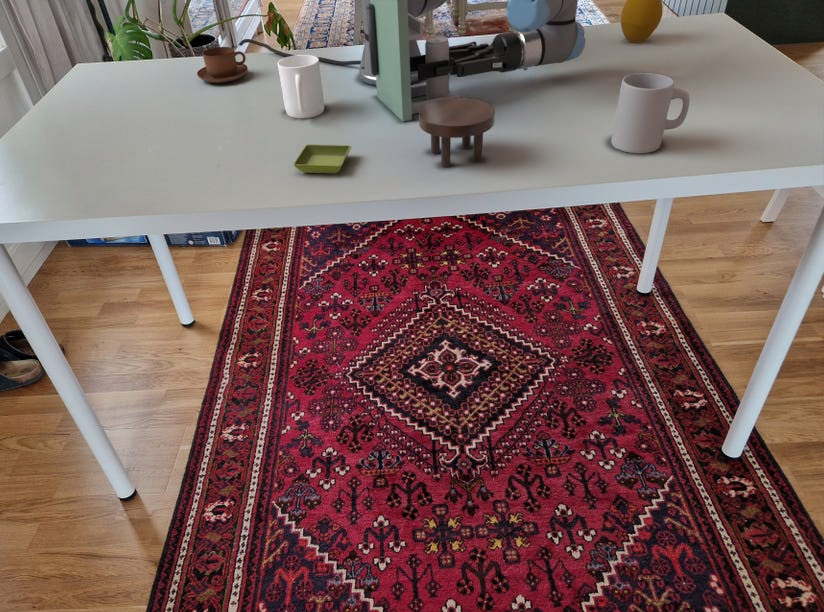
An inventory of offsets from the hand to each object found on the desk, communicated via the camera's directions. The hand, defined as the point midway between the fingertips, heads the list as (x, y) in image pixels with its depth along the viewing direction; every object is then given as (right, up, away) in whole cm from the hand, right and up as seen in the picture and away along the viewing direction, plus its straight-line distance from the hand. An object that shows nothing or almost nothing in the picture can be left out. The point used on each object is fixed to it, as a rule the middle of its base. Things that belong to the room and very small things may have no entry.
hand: (413, 68), depth 131 cm
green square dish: (-16, -25, -16) cm, 34 cm away
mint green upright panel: (+1, -5, +5) cm, 7 cm away
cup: (-23, -8, +3) cm, 24 cm away
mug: (+41, -21, -16) cm, 49 cm away
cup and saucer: (-45, +8, +24) cm, 52 cm away
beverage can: (+5, -4, +6) cm, 9 cm away
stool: (+7, -23, -16) cm, 29 cm away
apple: (+57, +20, +30) cm, 67 cm away
